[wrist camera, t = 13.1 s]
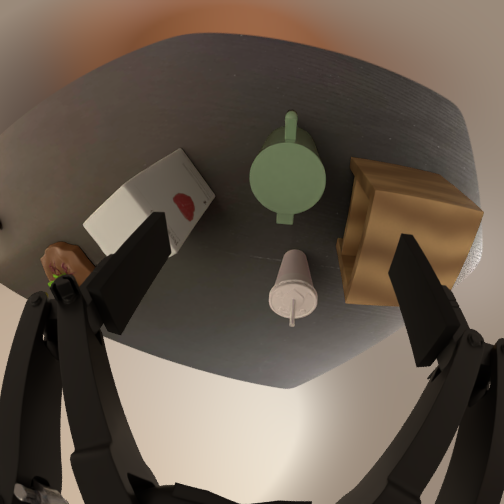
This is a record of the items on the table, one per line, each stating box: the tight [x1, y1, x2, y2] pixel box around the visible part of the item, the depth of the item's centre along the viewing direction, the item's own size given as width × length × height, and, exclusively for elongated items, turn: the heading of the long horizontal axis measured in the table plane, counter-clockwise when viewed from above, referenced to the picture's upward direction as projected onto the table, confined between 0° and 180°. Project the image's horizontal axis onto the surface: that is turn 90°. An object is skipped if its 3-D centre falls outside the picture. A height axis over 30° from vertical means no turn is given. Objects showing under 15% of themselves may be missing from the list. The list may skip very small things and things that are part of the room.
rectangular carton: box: [83, 148, 215, 258], centre depth 32 cm, size 9×9×15 cm
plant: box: [41, 242, 96, 296], centre depth 50 cm, size 20×20×11 cm
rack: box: [336, 157, 484, 306], centre depth 30 cm, size 14×14×12 cm
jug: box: [249, 110, 326, 225], centre depth 28 cm, size 10×7×12 cm, turn 179°
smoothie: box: [269, 249, 317, 327], centre depth 36 cm, size 6×6×14 cm
